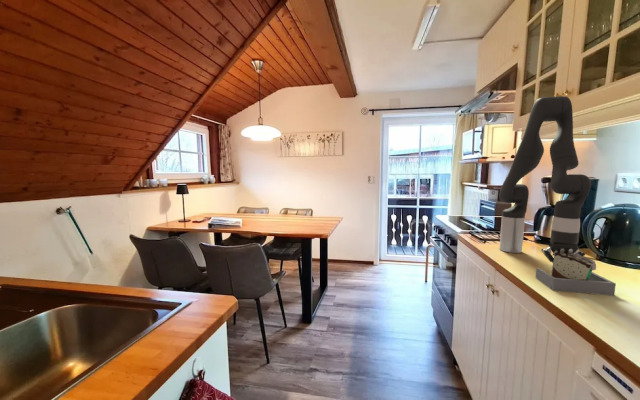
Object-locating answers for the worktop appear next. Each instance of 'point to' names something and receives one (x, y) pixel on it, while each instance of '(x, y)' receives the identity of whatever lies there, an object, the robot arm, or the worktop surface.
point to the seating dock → (577, 283)
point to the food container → (572, 266)
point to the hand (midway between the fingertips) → (560, 274)
